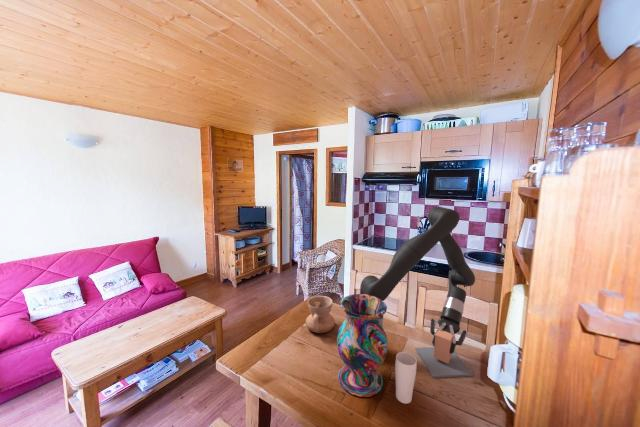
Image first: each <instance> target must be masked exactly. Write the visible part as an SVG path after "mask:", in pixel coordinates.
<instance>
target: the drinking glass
mask: <svg viewBox="0 0 640 427" xmlns="http://www.w3.org/2000/svg"><path fill="white" fill-rule="evenodd" d="M417 363H418V360H417V358H416V356H414V355H413V354H412V353H409V352H406V351H400V352H398V353H396V355H395V363H394V364H395V365H394V368H395V369H394V371H395V372H394V374H395V398H396V400H397V401H398V402H400V403H401V404H404V405H406V404H407V405H408V404H410V403H411V402H412V400H413V393H414V387H415V382H416V376H417V367H418V366H417Z"/></svg>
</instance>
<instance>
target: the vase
mask: <svg viewBox="0 0 640 427" xmlns="http://www.w3.org/2000/svg"><path fill="white" fill-rule="evenodd" d="M340 308H341V309H342V311H343V312H345V315H346V317H345V319H344V321H343V322H342V324H341V325H340V327H339V328H338V332H337V336H336V347H337V351H338V355H339V357H340V359H341V360H342V361H343V364H344V365H343V366H341V368H340V369H339V371H338V375H337V378H338V382H339V384H340V386H341V387H342V388H343V389H344V391H346V392H347V393H349V394H351V395H353V396H357V397H361V398H367V397H373V396H375V395H377V394H378V393H380V391H381V390H382V389H383V386H384V380H383V375H382V374H381V372H380V371H379V370H378V369H379V368H380V366H382V364H383V363H384V362H385V359H386V356H387V353H388V346H389V345H388V344H389V343H388V337H387V334H386V331H385V330H384V326H383V327H382V325H381V323H380V321H379V320H380V317H381V316H382V315H383V316H384V315H385V314H386V312H387V309H388V306H387V304H386V303H385V302H384V301H382V300H381V299H379V298H377V297H374V296H371V295H366V294H360V293H356V294H355V293H353V294H350V295H347V296H344V297H343V298H342V299H341V300H340Z"/></svg>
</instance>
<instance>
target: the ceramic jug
mask: <svg viewBox="0 0 640 427" xmlns="http://www.w3.org/2000/svg"><path fill="white" fill-rule="evenodd" d="M316 303H318V305H317V306H316ZM307 307H308V310H309V312H310V314H309V315H308V316H307V318H305V326H306V328H307V329H308V330H309V331H311V332H313V333H316V334H324V333H327V332H330V331H331V330H332V329H333V328H334V326H335V318H334V317H333V315H331V314H330V313H331V310H332V307H333V299H331V297H329V296H327V295H326V296H324V295H314V296H312V297H311V298H309V299H308V300H307Z"/></svg>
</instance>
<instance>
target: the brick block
mask: <svg viewBox="0 0 640 427" xmlns="http://www.w3.org/2000/svg"><path fill="white" fill-rule="evenodd" d="M437 330H438V329H437ZM452 339H453V335H451V333H448V332H446V331H443V330H442V331H440V330H438V332H437V333H436V335H435V346H433V347H434V358H436V359H439V360H441V361H443V362H445V363H447V364H448V363H449V361H450V359H451V357H452V354H450V353H449V351H450V347H451V343H452Z"/></svg>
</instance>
